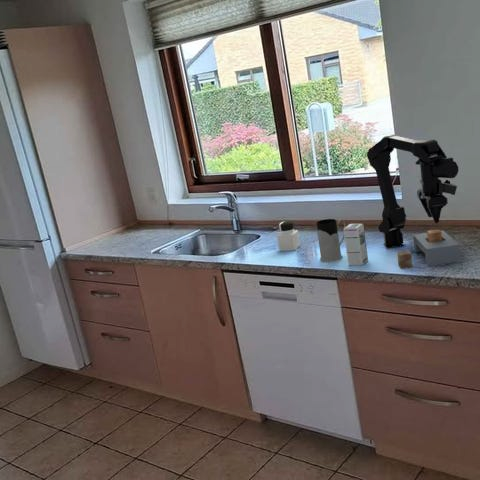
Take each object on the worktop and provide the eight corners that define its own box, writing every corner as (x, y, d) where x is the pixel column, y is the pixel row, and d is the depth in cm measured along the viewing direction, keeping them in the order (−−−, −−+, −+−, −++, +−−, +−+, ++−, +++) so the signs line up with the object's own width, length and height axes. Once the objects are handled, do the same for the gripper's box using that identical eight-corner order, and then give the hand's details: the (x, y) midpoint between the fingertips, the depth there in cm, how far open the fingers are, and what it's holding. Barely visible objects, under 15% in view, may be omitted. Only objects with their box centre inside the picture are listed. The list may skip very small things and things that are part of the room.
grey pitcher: (315, 260, 222) (310, 223, 218) (340, 250, 229) (336, 214, 226) (331, 263, 215) (326, 225, 211) (356, 252, 222) (352, 215, 219)
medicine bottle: (300, 245, 246) (296, 219, 243) (294, 250, 240) (290, 223, 237) (285, 246, 249) (280, 220, 246) (279, 251, 243) (275, 224, 240)
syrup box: (363, 265, 206) (358, 227, 202) (347, 265, 209) (342, 227, 206) (368, 260, 210) (363, 223, 207) (353, 260, 214) (348, 223, 210)
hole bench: (428, 265, 194) (426, 249, 192) (414, 249, 213) (413, 234, 212) (460, 261, 193) (459, 244, 191) (444, 245, 212) (443, 230, 211)
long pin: (432, 257, 201) (429, 233, 199) (429, 254, 205) (427, 230, 203) (443, 256, 201) (441, 231, 199) (440, 253, 205) (438, 229, 202)
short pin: (400, 268, 196) (399, 255, 195) (398, 265, 200) (397, 252, 198) (412, 267, 195) (411, 253, 194) (410, 263, 199) (408, 250, 198)
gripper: (461, 177, 187) (464, 222, 191) (446, 169, 205) (449, 211, 209) (427, 182, 188) (431, 227, 192) (414, 174, 206) (418, 215, 210)
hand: (433, 219), depth 201 cm, fingers open, 9 cm apart
